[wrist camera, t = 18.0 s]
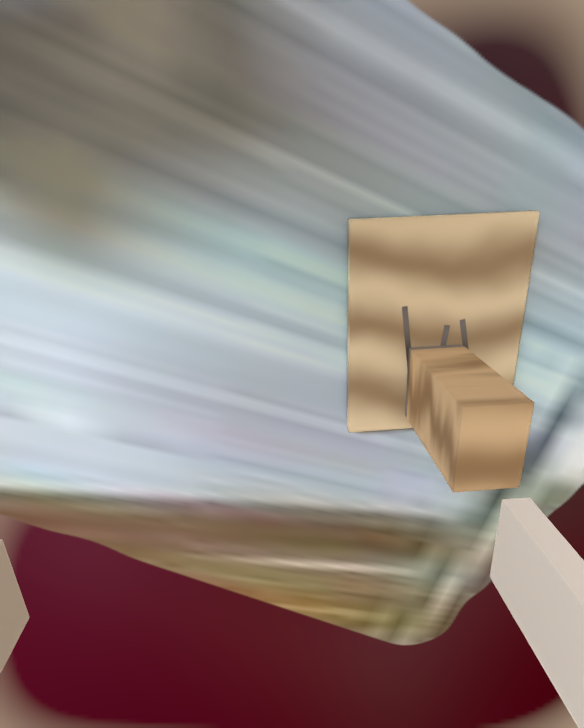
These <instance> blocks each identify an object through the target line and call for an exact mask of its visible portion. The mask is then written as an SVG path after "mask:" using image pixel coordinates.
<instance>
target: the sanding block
mask: <svg viewBox="0 0 584 728" xmlns="http://www.w3.org/2000/svg"><path fill="white" fill-rule="evenodd" d="M533 407H534V402H533V401H532V400H530V399H529V398H528V397H527V396H525V395H524V394H523V393H522V392H520V391H519V390H518V389H517V388H515V387H514V386H513V385H512V384H511V383H509V382H508V381H507V380H506V379H504V378H503V377H502V376H501V375H499V374H498V373H497V372H496V371H494V370H493V369H492V368H491V367H489V366H488V365H487V364H486V363H484V362H483V361H482V360H481V359H480V358H478V357H477V356H476V355H475V354H473V353H472V352H471V351H470V350H468V349H467V348H466V347H465V346H463V345H462V344H461V345H444V346H428V347H412V348H409V354H408V371H407V388H406V404H405V416H406V418H407V419H408V421H409V422H410V424H411V426H412V427H413V429H414V430H415V432H416V434H417V435H418V437H419V438H420V440H421V442H422V443H423V445H424V446H425V448H426V450H427V451H428V453H429V454H430V456H431V457H432V459H433V461H434V462H435V464H436V465H437V467H438V469H439V470H440V472H441V473H442V475H443V477H444V478H445V480H446V481H447V483H448V485H449V486H450V488H451V489H452V491H453V492H464V491H477V490H490V489H503V488H515V487H520V481H521V475H522V470H523V464H524V458H525V453H526V447H527V441H528V436H529V430H530V424H531V419H532V413H533Z"/></svg>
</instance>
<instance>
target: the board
mask: <svg viewBox="0 0 584 728" xmlns="http://www.w3.org/2000/svg"><path fill="white" fill-rule="evenodd" d="M539 213H540V211H512V212H491V213H470V214H448V215H427V216H405V217H384V218H363V219H348V340H347V428H348V431H349V432H362V431H376V430H390V429H404V428H413V427H412V426H411V424H410V422H409V421H408V419H407V418H406V416H405V404H406V388H407V371H408V354H409V348H412V347H428V346H444V345H461V344H462V345H463V346H465V347H466V348H467V349H468V350H470V351H471V352H472V353H473V354H475V355H476V356H477V357H478V358H480V359H481V360H482V361H483V362H484V363H486V364H487V365H488V366H489V367H491V368H492V369H493V370H494V371H496V372H497V373H498V374H499V375H501V376H502V377H503V378H504V379H506V380H507V381H508V382H509V383H511V384H512V385H513V381H514V375H515V368H516V362H517V355H518V349H519V343H520V336H521V330H522V323H523V317H524V310H525V304H526V297H527V291H528V284H529V278H530V272H531V265H532V259H533V252H534V246H535V239H536V233H537V226H538V220H539Z"/></svg>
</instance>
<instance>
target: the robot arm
mask: <svg viewBox="0 0 584 728" xmlns="http://www.w3.org/2000/svg"><path fill="white" fill-rule="evenodd" d="M490 578H491V580H492V581H493V583H494V585H495V586H496V588H497V590H498V591H499V593H500V595H501V597H502V598H503V600H504V602H505V604H506V605H507V607H508V609H509V610H510V612H511V614H512V616H513V617H514V619H515V621H516V622H517V624H518V626H519V627H520V629H521V631H522V632H523V634H524V636H525V638H526V639H527V641H528V643H529V644H530V646H531V648H532V649H533V651H534V653H535V655H536V656H537V658H538V660H539V662H540V663H541V665H542V667H543V668H544V670H545V672H546V674H547V675H548V677H549V679H550V680H551V682H552V684H553V685H554V687H555V689H556V691H557V692H558V694H559V696H560V697H561V699H562V700H563V703H564V704H565V706H566V708H567V709H568V711H569V713H570V715H571V716H572V718H573V720H574V721H575V723H576V725H577V726H578V728H584V560H583V559H582V558H581V557H580V556H579V555H578V554H577V552H576V551H575V550H574V549H573V548H572V546H571V545H570V544H569V543H568V542H567V541H566V539H565V538H564V537H563V536H562V535H561V534H560V533H559V531H558V530H557V529H556V528H555V527H554V525H553V524H552V523H551V522H550V521H549V520H548V518H547V517H546V516H545V515H544V514H543V513H542V511H541V510H540V509H539V508H538V507H537V506H536V504H535V503H534V502H533V501H532V500H531V499H530V497H529V498H517V499H504V500H502V503H501V510H500V516H499V522H498V528H497V534H496V541H495V547H494V553H493V559H492V565H491V571H490ZM28 619H29V614H28V612H27V609H26V606H25V603H24V600H23V597H22V594H21V592H20V589H19V586H18V583H17V580H16V577H15V575H14V571H13V569H12V566H11V563H10V560H9V557H8V554H7V551H6V549H5V546H4V543H3V540H0V673H1V671H2V669H3V667H4V665H5V663H6V662H7V660H8V658H9V656H10V654H11V652H12V650H13V648H14V646H15V644H16V642H17V640H18V638H19V636H20V635H21V633H22V631H23V628H24V627H25V625H26V623H27V621H28Z"/></svg>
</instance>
